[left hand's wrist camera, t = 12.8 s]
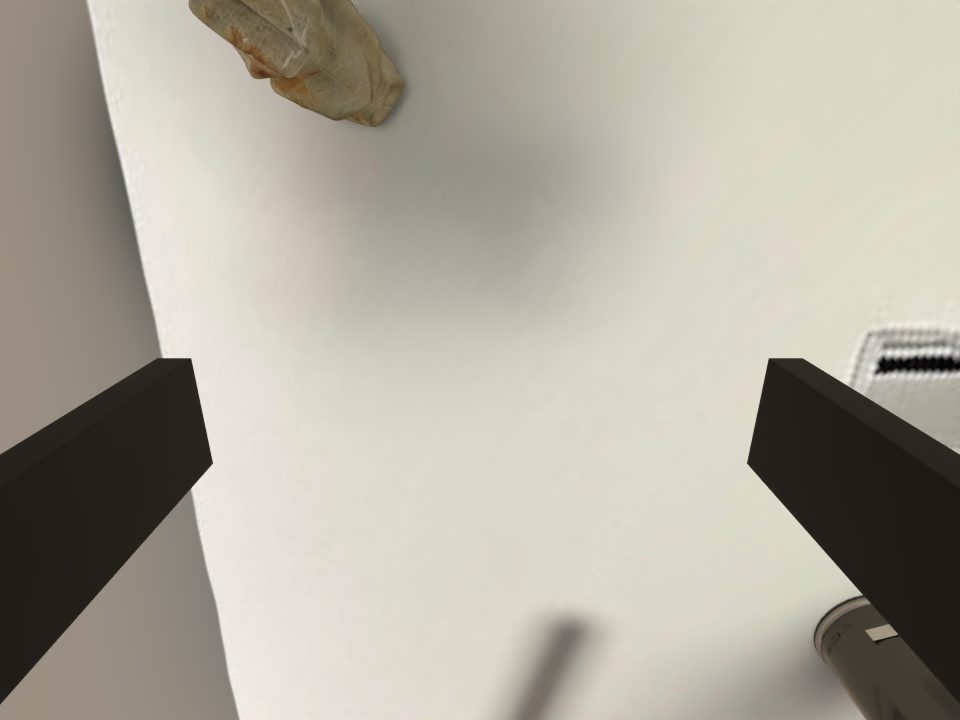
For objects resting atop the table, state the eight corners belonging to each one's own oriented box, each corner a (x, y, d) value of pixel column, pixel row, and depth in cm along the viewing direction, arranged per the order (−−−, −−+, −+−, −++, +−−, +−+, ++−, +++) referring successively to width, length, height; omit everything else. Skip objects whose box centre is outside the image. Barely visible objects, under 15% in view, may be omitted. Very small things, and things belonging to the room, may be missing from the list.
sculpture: (334, -6, 33) (228, -127, 19) (424, 77, 35) (386, 21, 21) (284, 73, 35) (152, 14, 21) (372, 149, 36) (304, 142, 22)
